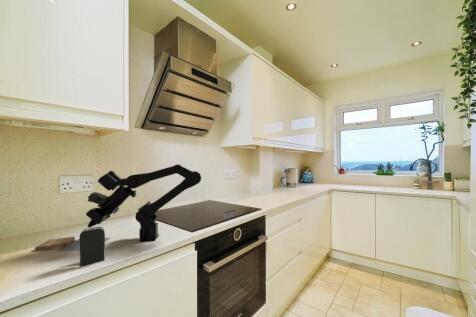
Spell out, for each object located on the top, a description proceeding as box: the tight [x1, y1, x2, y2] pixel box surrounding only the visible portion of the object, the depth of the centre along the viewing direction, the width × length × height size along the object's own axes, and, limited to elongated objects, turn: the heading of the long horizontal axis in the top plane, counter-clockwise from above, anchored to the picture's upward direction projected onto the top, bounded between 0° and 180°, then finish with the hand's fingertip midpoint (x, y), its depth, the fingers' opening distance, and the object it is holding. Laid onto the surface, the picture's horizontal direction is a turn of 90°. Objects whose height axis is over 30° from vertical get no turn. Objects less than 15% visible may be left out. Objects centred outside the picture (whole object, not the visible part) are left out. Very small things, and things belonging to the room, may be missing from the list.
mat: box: [57, 237, 111, 252], centre depth 83 cm, size 13×12×1 cm
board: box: [34, 236, 76, 252], centre depth 82 cm, size 2×8×9 cm
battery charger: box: [78, 226, 106, 267], centre depth 69 cm, size 7×4×11 cm, turn 124°
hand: (88, 226), depth 84 cm, fingers closed
